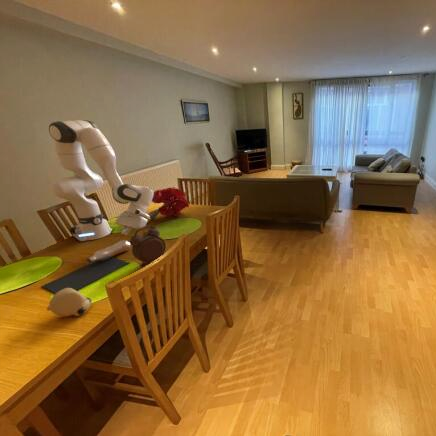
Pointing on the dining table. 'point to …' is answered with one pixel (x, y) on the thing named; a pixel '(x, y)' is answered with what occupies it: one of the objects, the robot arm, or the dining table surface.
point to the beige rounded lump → (69, 303)
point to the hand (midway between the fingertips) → (123, 234)
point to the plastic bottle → (109, 252)
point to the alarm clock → (147, 245)
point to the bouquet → (169, 202)
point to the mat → (85, 275)
